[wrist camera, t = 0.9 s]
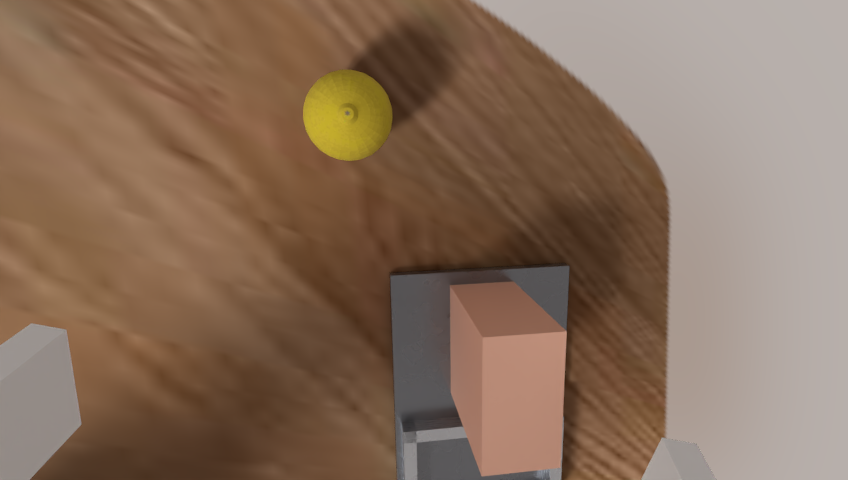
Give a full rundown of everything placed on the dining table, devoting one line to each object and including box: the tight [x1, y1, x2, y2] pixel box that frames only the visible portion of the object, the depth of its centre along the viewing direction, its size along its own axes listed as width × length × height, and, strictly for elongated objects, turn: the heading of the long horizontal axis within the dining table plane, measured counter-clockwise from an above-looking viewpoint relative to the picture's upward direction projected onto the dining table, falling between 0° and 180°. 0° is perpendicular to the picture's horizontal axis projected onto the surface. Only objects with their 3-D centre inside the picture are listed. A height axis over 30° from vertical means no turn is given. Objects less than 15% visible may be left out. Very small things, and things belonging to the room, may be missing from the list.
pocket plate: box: [390, 263, 569, 480], centre depth 40 cm, size 23×14×2 cm, turn 1°
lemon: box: [303, 70, 393, 161], centre depth 31 cm, size 6×6×8 cm
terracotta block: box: [450, 281, 567, 476], centre depth 34 cm, size 9×5×10 cm, turn 1°
